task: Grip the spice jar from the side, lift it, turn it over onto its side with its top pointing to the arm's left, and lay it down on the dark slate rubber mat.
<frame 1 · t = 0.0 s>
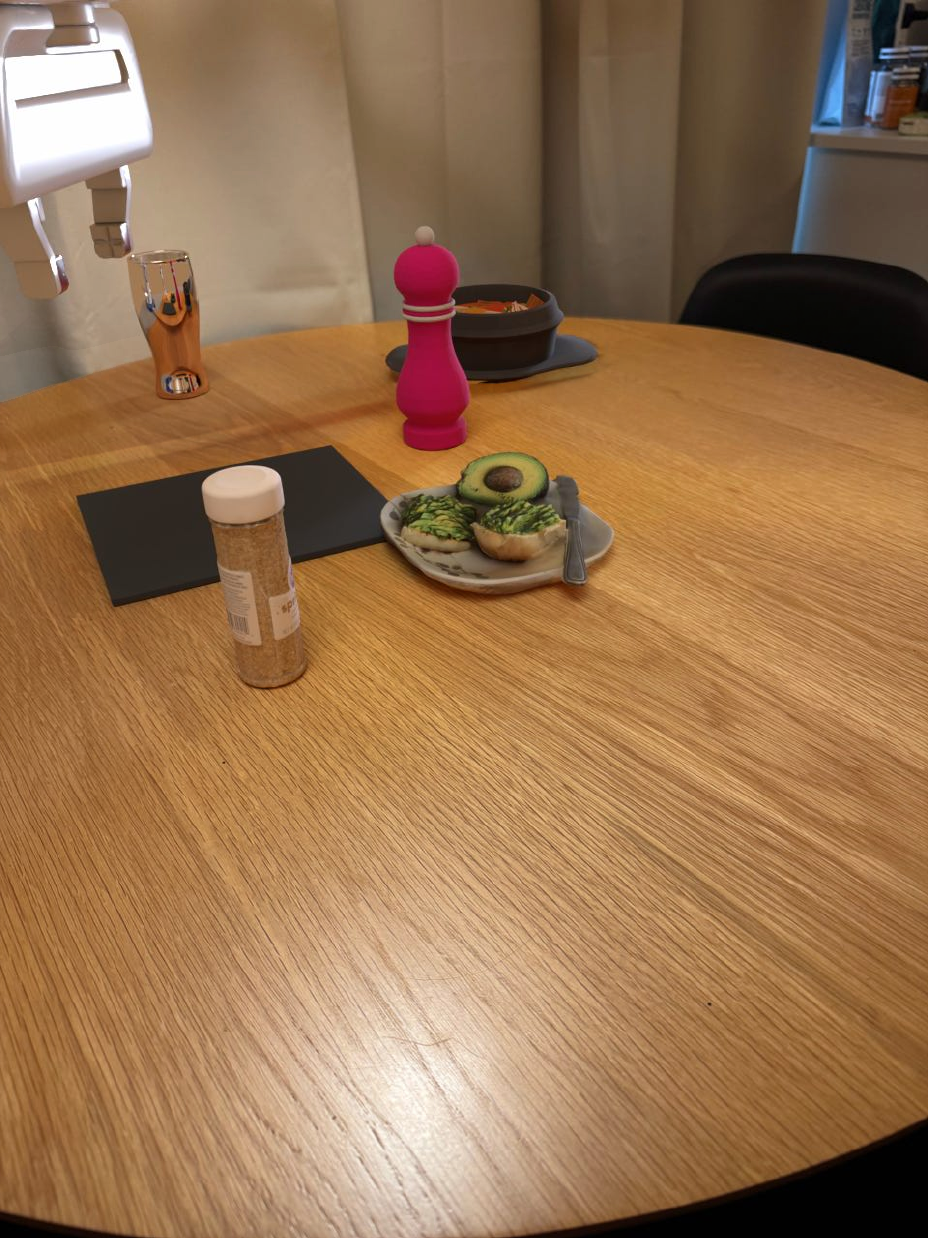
hand: (84, 274, 52), 25 cm above the table, tool pointing down, fingers open, 8 cm apart
casserole: (491, 371, 116), on the table
pepper mill: (435, 440, 97), on the table
spice jar: (273, 672, 63), on the table
avocado toast plate: (496, 540, 77), on the table, touching slate mat
beer glass: (183, 392, 113), on the table
slate mat: (239, 516, 83), on the table
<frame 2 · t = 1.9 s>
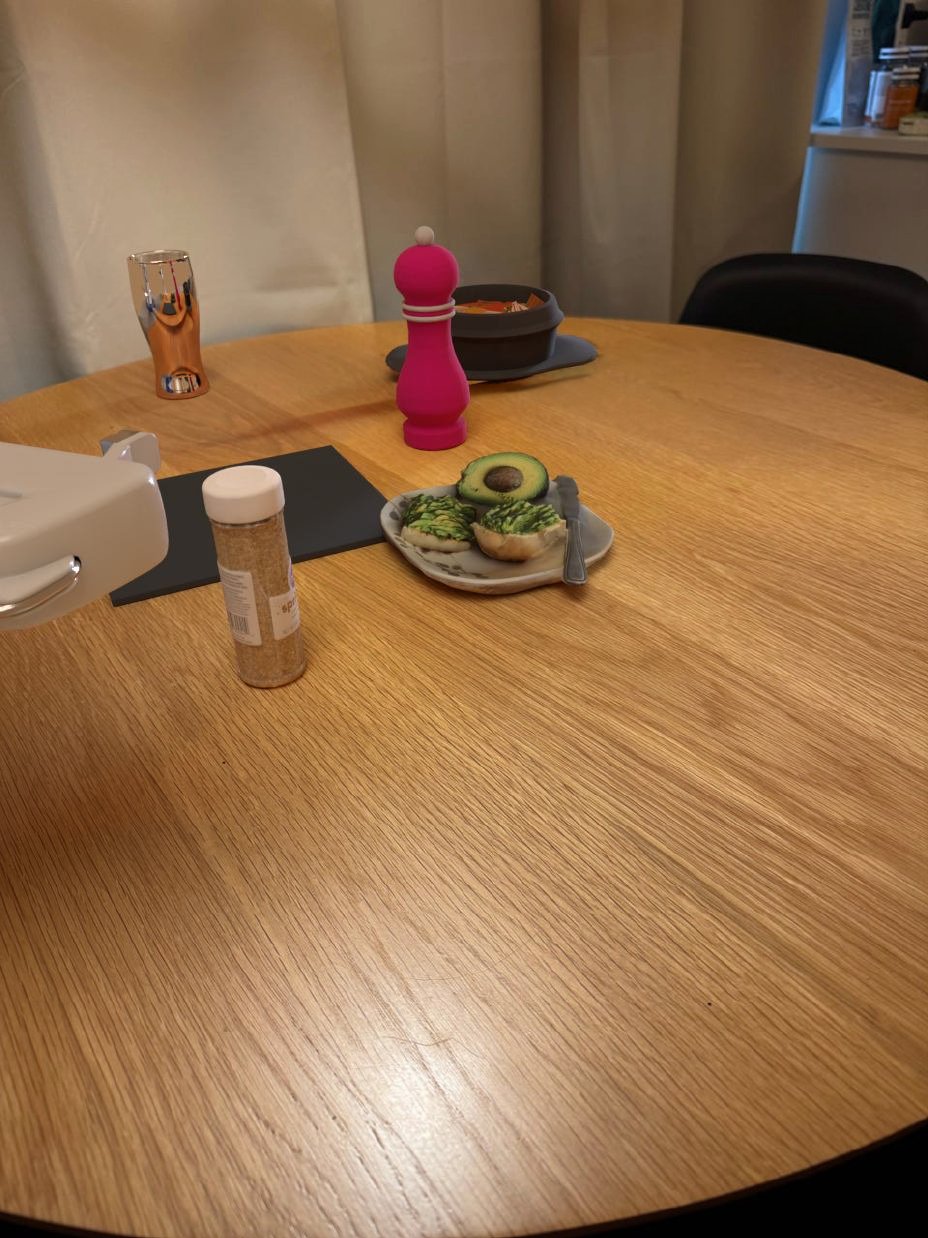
hand: (61, 435, 43), 20 cm above the table, tool horizontal, fingers open, 8 cm apart
nothing on the table moved.
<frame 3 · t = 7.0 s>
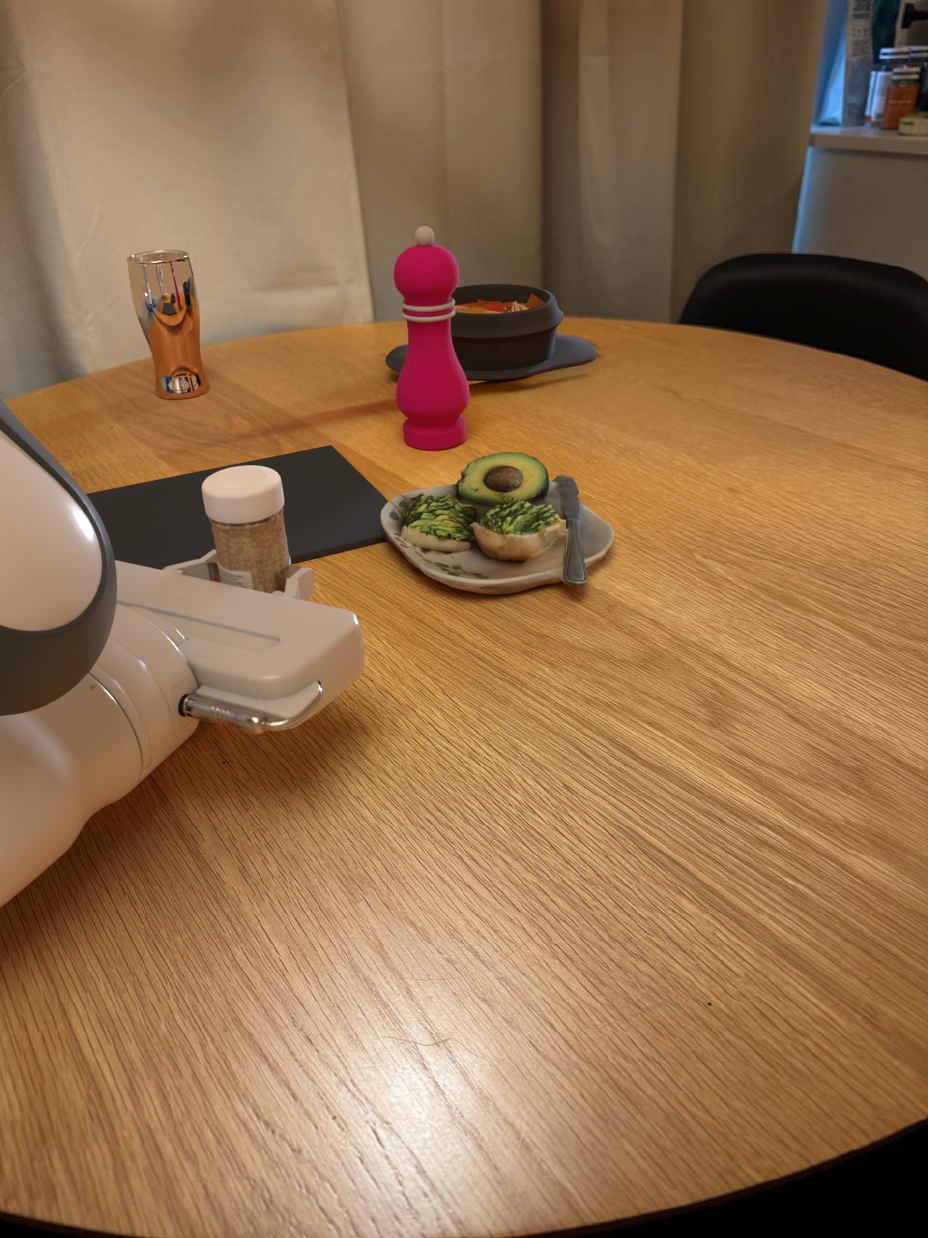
hand: (265, 568, 60), 7 cm above the table, tool horizontal, fingers closed on spice jar, 4 cm apart
spice jar: (273, 672, 63), on the table, touching gripper
everything else where it was.
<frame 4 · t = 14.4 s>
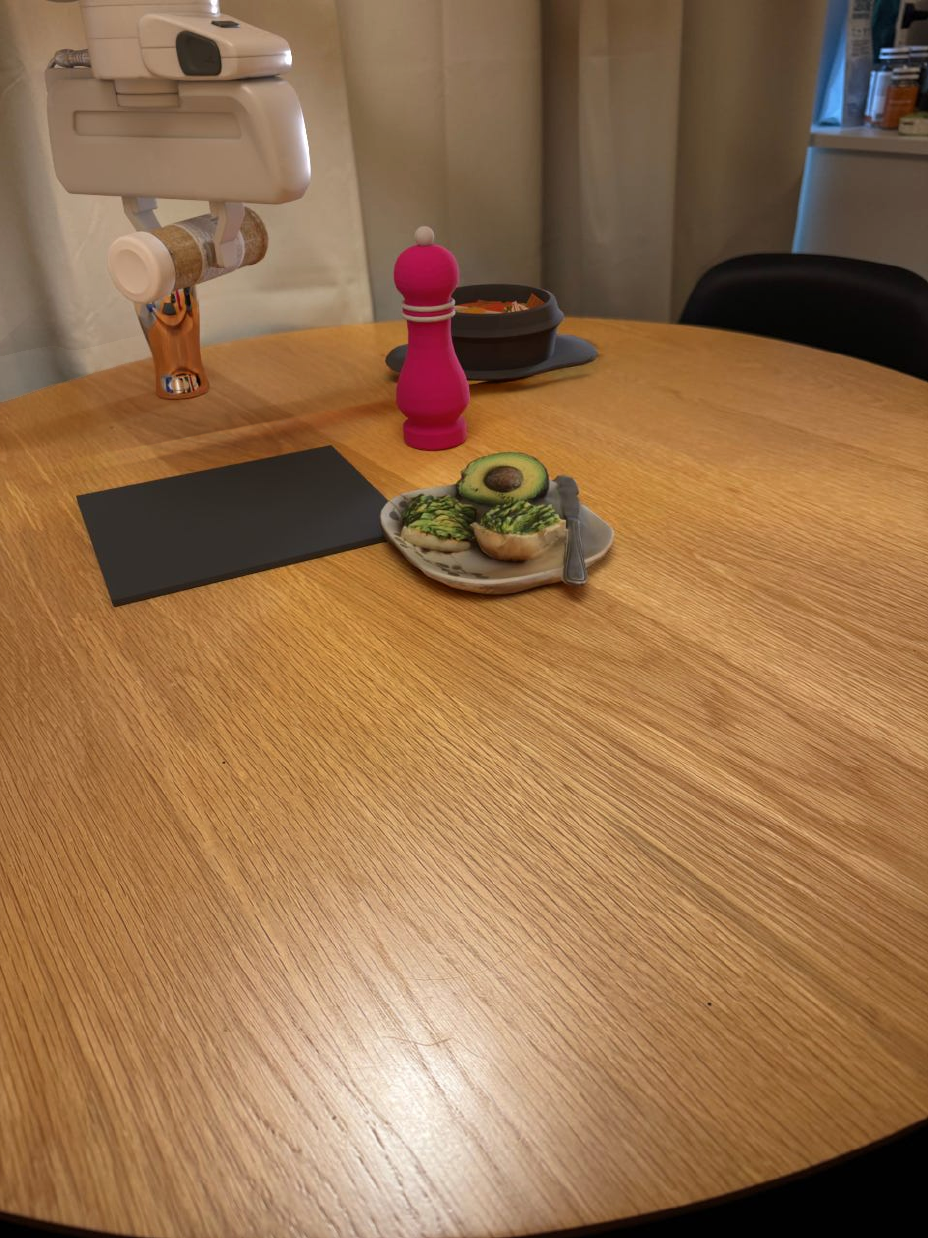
hand: (192, 263, 72), 21 cm above the table, tool pointing down, fingers closed on spice jar, 4 cm apart
spice jar: (249, 234, 77), point 22 cm above the table, touching gripper
everything else where it was.
when the fingers open (2 cm above the table, at t = 21.2 s): spice jar stays where it is, resting on slate mat.
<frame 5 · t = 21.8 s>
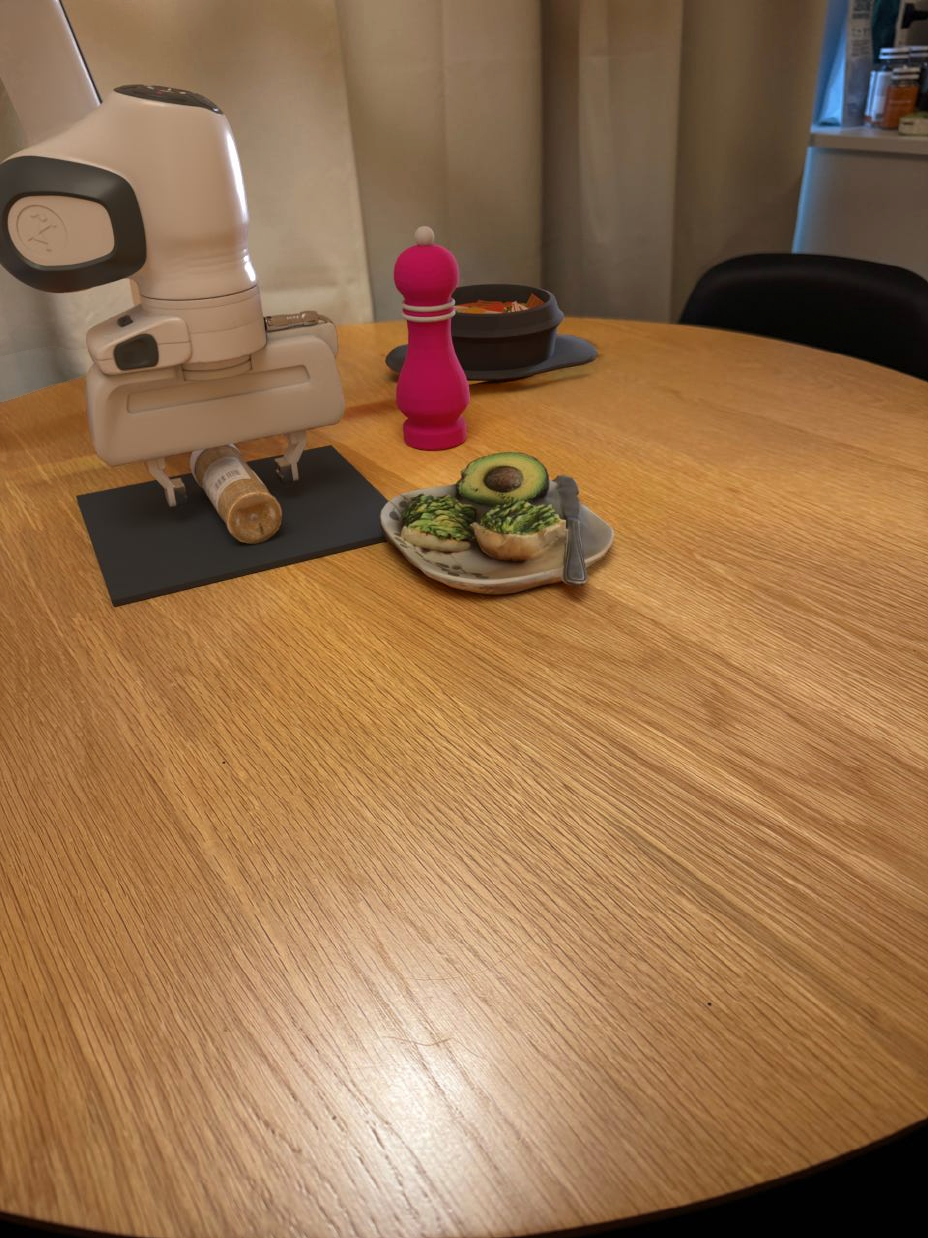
hand: (234, 491, 82), 2 cm above the table, tool pointing down, fingers open, 8 cm apart
spice jar: (255, 520, 76), point 3 cm above the table, touching slate mat
everything else where it was.
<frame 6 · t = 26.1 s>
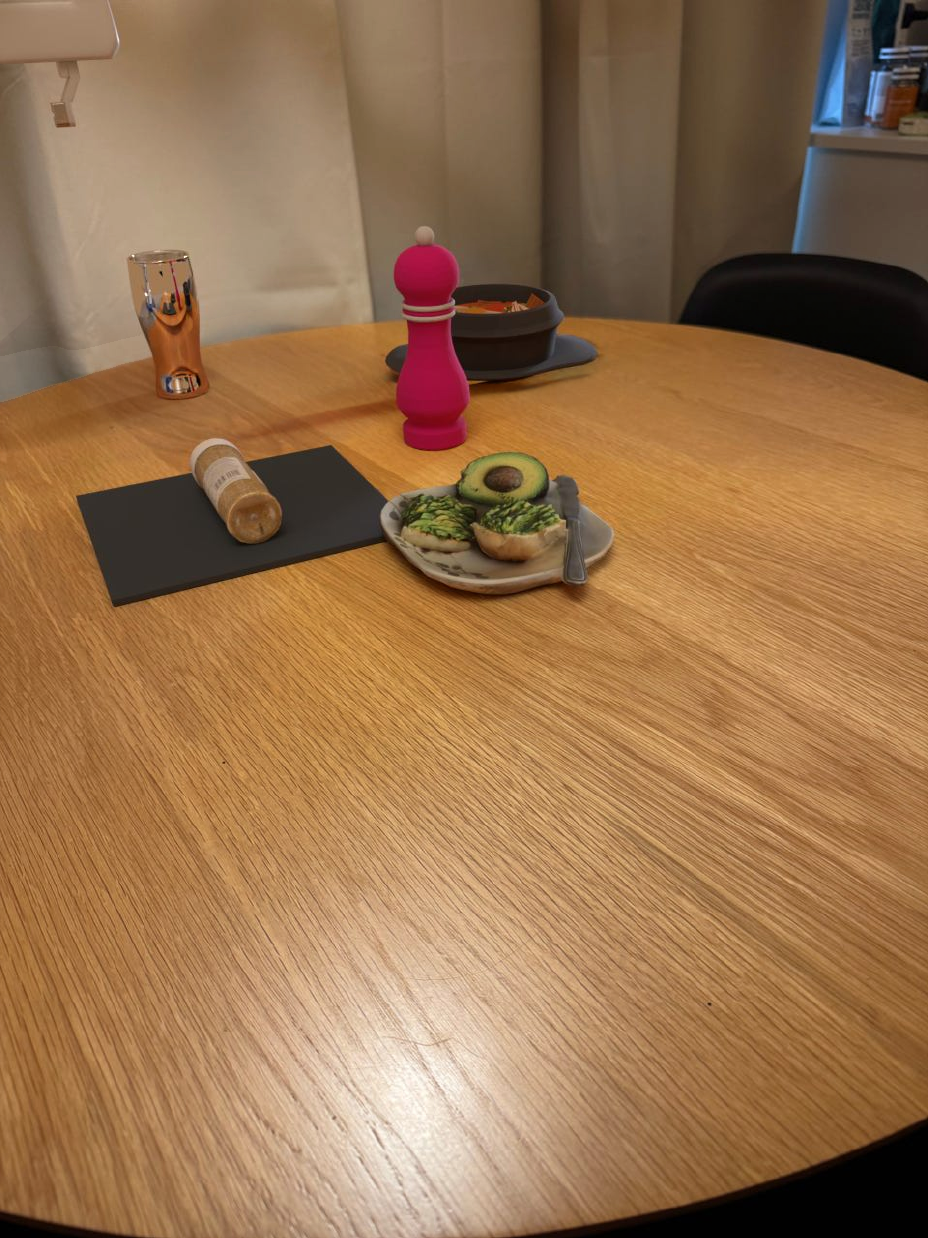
hand: (4, 131, 78), 29 cm above the table, tool pointing down, fingers open, 8 cm apart
nothing on the table moved.
at the end: spice jar tilted 90°; spice jar inside the target area on the slate mat (7.4 cm from its centre), point 2.8 cm above the slate mat's base; the gripper is holding nothing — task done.
